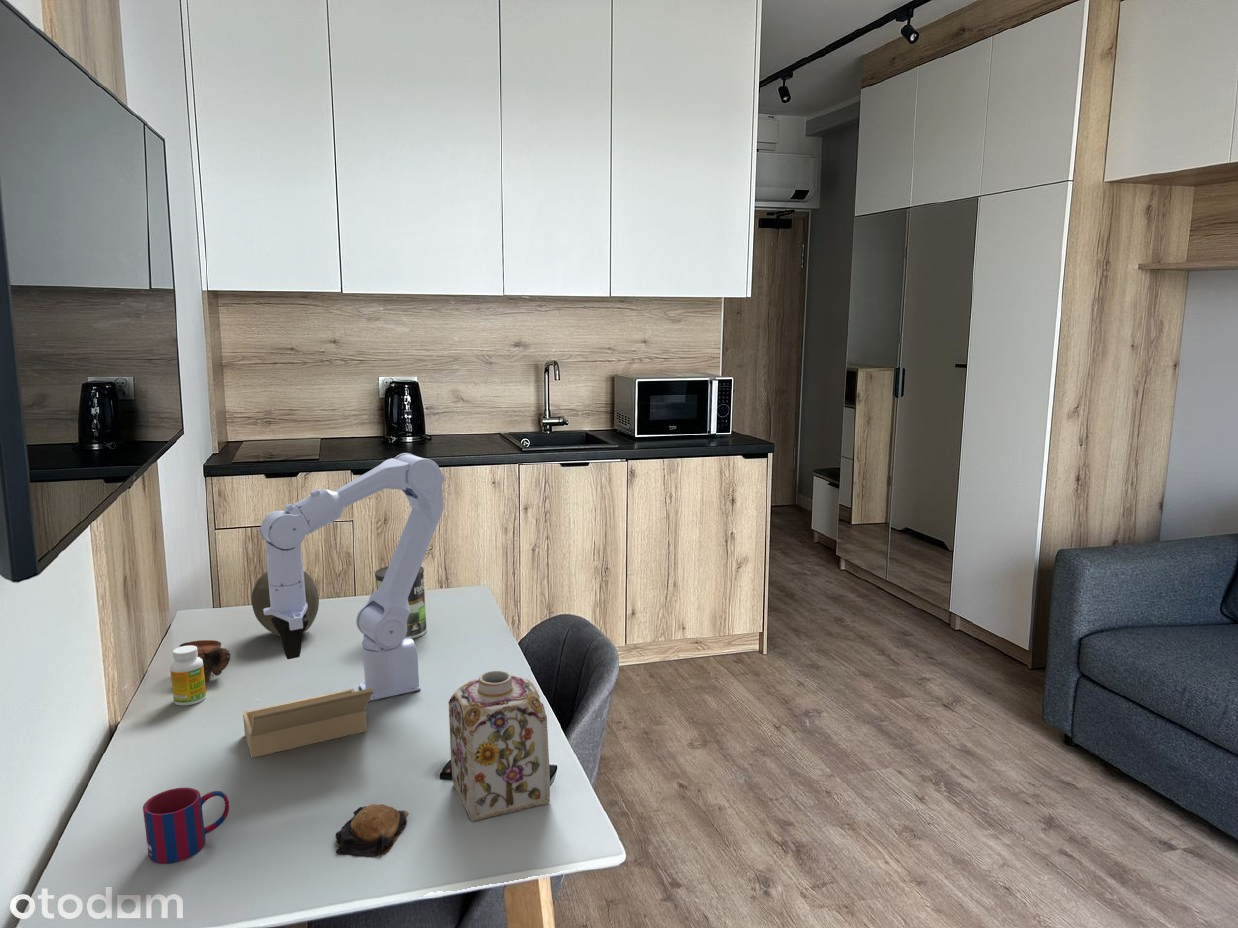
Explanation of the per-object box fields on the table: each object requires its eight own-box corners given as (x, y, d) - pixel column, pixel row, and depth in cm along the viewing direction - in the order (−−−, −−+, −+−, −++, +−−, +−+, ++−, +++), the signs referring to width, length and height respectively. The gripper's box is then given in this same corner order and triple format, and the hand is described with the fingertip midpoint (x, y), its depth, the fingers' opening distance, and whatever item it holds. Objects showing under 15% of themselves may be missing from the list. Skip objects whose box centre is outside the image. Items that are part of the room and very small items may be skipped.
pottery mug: (162, 688, 169) (163, 644, 172) (199, 691, 178) (200, 649, 181) (214, 677, 166) (215, 633, 169) (249, 680, 175) (249, 638, 177)
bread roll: (356, 814, 126) (354, 790, 125) (414, 815, 125) (413, 791, 124) (325, 859, 115) (323, 833, 115) (389, 861, 114) (387, 834, 114)
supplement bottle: (193, 707, 159) (188, 655, 158) (167, 705, 160) (161, 653, 159) (212, 694, 165) (207, 644, 163) (187, 692, 166) (181, 642, 164)
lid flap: (372, 688, 141) (373, 691, 141) (364, 707, 149) (364, 711, 148) (253, 713, 133) (253, 717, 133) (250, 733, 140) (251, 736, 140)
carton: (354, 710, 157) (353, 688, 156) (367, 730, 149) (365, 708, 149) (244, 734, 149) (242, 712, 148) (251, 757, 141) (249, 734, 140)
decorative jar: (451, 783, 132) (445, 668, 129) (526, 766, 137) (522, 655, 134) (471, 824, 121) (464, 700, 118) (552, 805, 126) (548, 684, 123)
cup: (148, 842, 119) (143, 795, 117) (230, 821, 123) (225, 776, 122) (148, 869, 113) (142, 820, 112) (234, 847, 117) (229, 799, 116)
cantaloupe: (334, 625, 200) (329, 560, 198) (298, 648, 187) (292, 579, 184) (278, 621, 203) (273, 557, 201) (239, 644, 190) (233, 576, 187)
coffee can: (431, 624, 200) (428, 563, 198) (421, 640, 190) (417, 577, 187) (386, 624, 200) (382, 563, 198) (372, 641, 190) (368, 577, 188)
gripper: (255, 574, 156) (262, 648, 159) (267, 596, 144) (274, 676, 146) (297, 568, 160) (303, 640, 162) (313, 589, 147) (319, 667, 150)
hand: (292, 657), depth 154 cm, fingers closed
